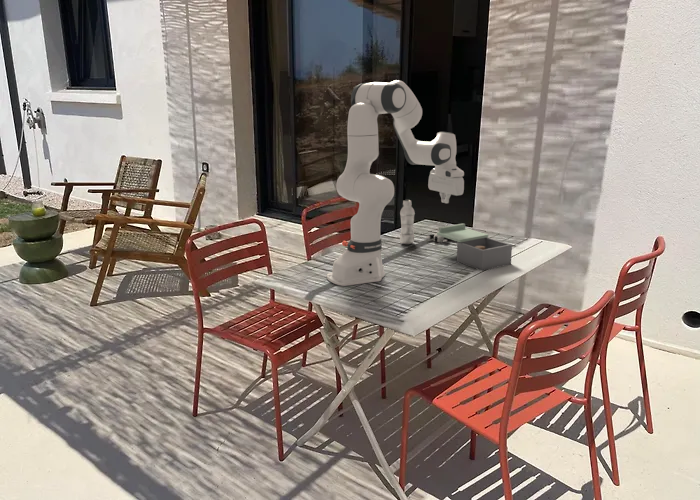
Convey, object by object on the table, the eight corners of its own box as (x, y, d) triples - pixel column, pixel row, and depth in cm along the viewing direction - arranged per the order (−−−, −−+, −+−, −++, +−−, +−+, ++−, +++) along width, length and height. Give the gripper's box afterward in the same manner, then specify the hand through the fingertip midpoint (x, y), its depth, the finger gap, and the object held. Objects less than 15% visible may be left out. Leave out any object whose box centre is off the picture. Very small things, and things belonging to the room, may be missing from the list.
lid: (459, 242, 224) (459, 235, 223) (436, 234, 237) (436, 227, 236) (488, 236, 231) (488, 229, 230) (464, 229, 244) (464, 223, 243)
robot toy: (446, 247, 251) (465, 238, 261) (446, 238, 250) (465, 229, 259) (424, 243, 259) (443, 234, 269) (424, 233, 258) (443, 225, 268)
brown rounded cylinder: (479, 263, 220) (479, 249, 219) (472, 261, 224) (472, 246, 222) (486, 262, 222) (487, 247, 220) (480, 259, 225) (480, 245, 224)
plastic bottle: (397, 242, 257) (397, 200, 252) (411, 241, 259) (411, 198, 254) (403, 246, 251) (402, 202, 246) (416, 244, 253) (417, 201, 248)
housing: (481, 270, 215) (482, 250, 213) (456, 261, 228) (457, 242, 225) (511, 264, 222) (512, 244, 219) (485, 255, 234) (485, 236, 232)
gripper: (424, 168, 244) (424, 199, 248) (454, 174, 227) (454, 207, 231) (436, 167, 247) (436, 198, 251) (466, 172, 230) (466, 205, 234)
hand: (445, 202), depth 241 cm, fingers closed
